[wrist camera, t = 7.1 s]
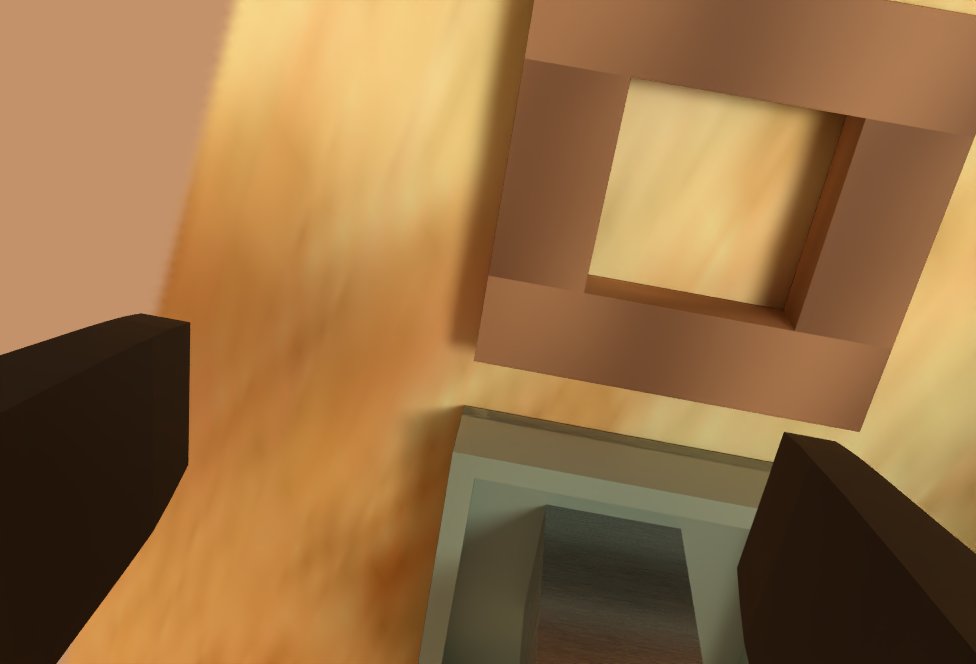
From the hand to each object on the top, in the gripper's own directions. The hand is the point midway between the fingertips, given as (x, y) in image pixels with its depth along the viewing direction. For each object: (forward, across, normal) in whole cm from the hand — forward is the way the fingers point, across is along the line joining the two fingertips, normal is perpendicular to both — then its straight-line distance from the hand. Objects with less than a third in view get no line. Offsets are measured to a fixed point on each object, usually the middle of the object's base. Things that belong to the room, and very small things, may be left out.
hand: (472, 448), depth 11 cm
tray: (+10, -4, +10) cm, 15 cm away
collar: (+10, -4, -1) cm, 11 cm away
